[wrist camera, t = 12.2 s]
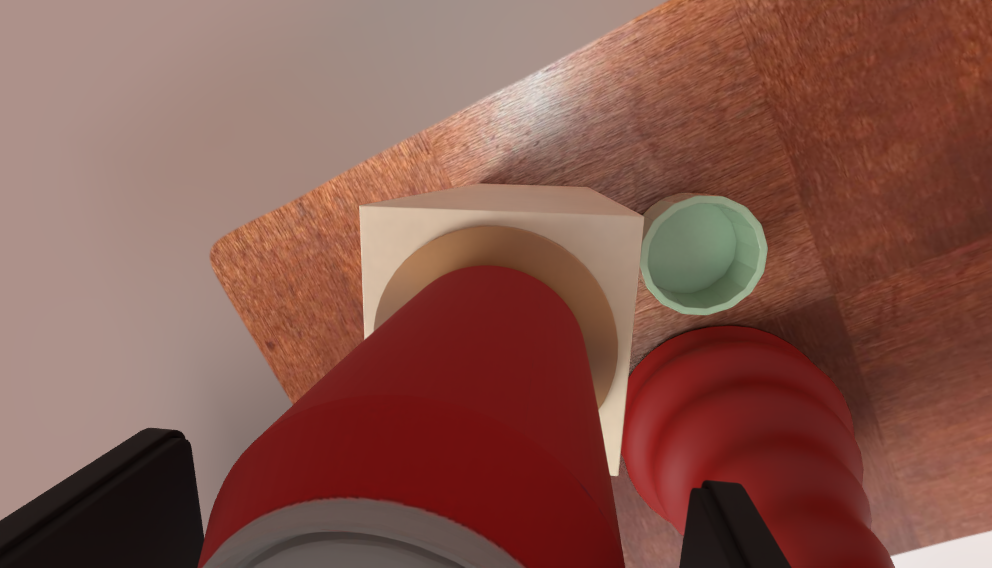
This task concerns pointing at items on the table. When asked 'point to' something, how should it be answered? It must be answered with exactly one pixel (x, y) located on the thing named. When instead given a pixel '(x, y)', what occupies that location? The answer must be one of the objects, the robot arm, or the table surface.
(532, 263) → the cork pad
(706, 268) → the can holder
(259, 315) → the table surface
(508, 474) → the beverage can
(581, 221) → the block
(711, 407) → the table lamp
